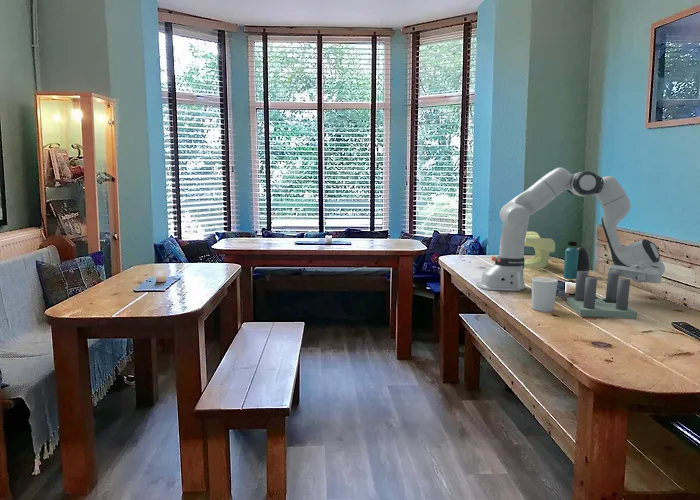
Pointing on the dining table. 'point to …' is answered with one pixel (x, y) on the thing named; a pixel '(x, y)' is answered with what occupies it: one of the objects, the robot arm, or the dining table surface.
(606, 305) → the stool seat
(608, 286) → the stool leg
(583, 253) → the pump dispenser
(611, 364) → the dining table surface
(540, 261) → the pale yellow curved piece
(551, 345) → the dining table surface
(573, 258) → the beverage bottle
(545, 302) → the candle holder
